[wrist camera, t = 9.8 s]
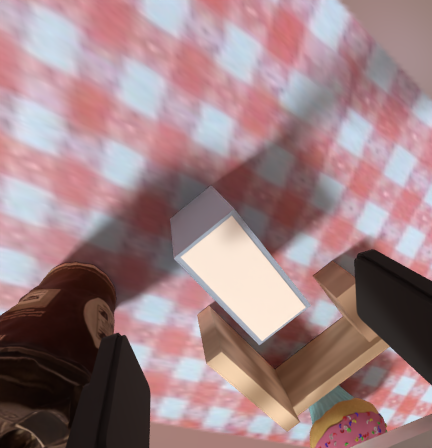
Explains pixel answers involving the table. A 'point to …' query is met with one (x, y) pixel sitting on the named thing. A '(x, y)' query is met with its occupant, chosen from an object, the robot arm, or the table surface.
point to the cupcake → (343, 421)
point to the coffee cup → (51, 354)
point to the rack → (295, 355)
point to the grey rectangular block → (234, 266)
